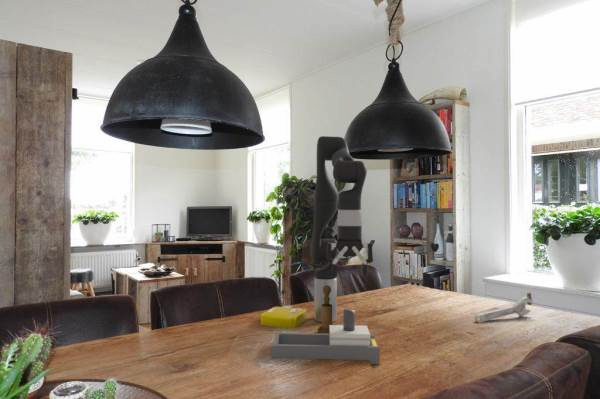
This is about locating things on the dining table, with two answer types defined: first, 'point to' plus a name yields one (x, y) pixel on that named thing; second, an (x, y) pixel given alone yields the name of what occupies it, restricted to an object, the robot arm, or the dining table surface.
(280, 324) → the element tile
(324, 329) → the brown wooden tall piece
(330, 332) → the white plate with knob
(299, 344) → the bay
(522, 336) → the dining table surface
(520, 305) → the wrench
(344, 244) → the robot arm
